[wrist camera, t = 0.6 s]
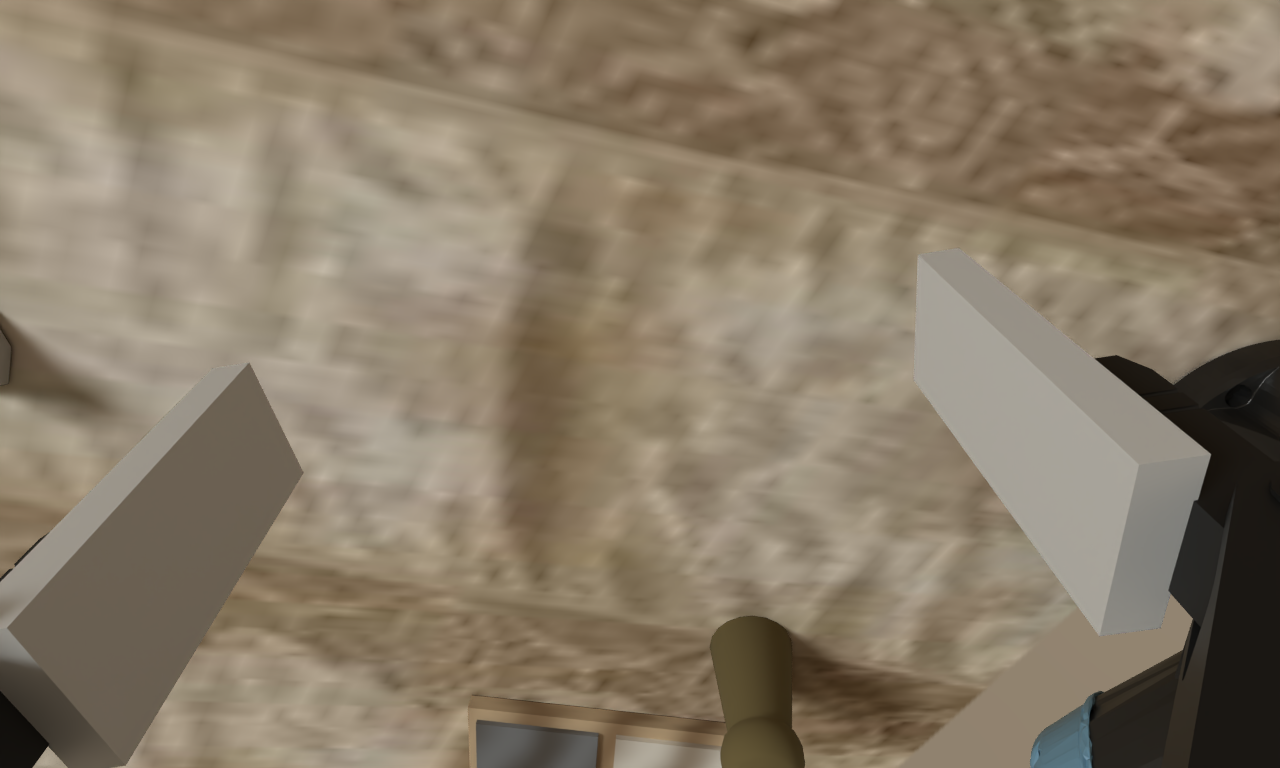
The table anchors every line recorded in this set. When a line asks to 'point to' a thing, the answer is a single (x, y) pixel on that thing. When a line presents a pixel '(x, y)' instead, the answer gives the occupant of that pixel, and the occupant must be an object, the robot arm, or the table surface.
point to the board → (586, 737)
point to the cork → (756, 694)
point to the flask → (4, 359)
